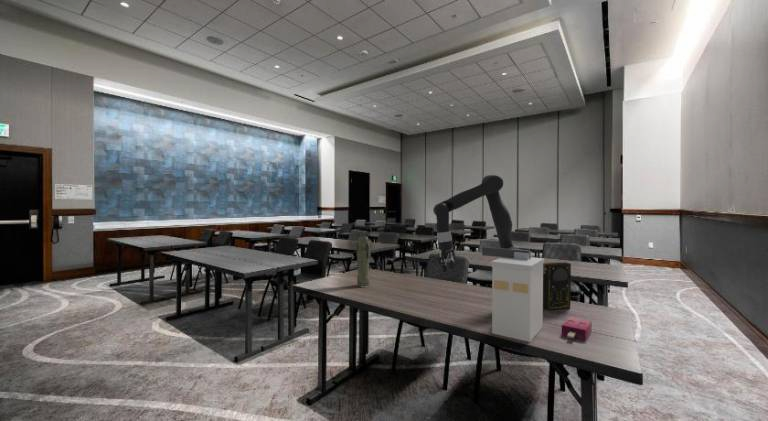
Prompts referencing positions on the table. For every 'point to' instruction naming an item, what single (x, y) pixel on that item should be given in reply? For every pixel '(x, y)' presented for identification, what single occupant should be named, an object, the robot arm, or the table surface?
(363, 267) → the thermos
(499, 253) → the cable bar
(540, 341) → the table surface
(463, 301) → the table surface
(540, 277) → the cabinet
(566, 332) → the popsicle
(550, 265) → the voltmeter
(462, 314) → the table surface
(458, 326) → the table surface
